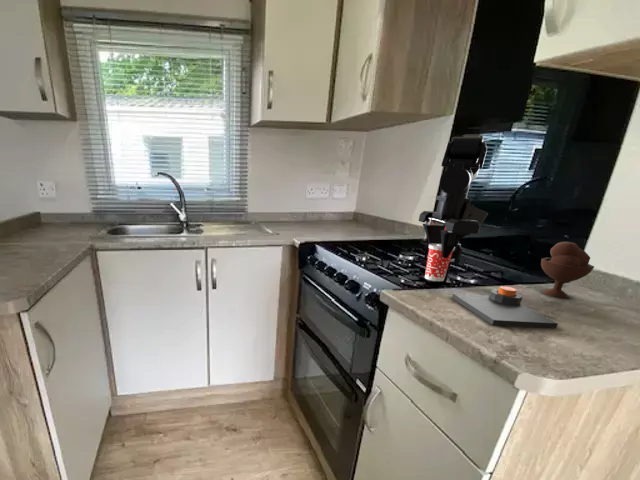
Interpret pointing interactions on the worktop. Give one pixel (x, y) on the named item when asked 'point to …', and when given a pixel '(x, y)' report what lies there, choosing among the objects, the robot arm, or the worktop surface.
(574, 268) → the ice cream bowl
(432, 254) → the beverage cup
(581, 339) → the worktop surface
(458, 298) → the scale
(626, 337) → the worktop surface
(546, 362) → the worktop surface
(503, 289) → the button
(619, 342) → the worktop surface
